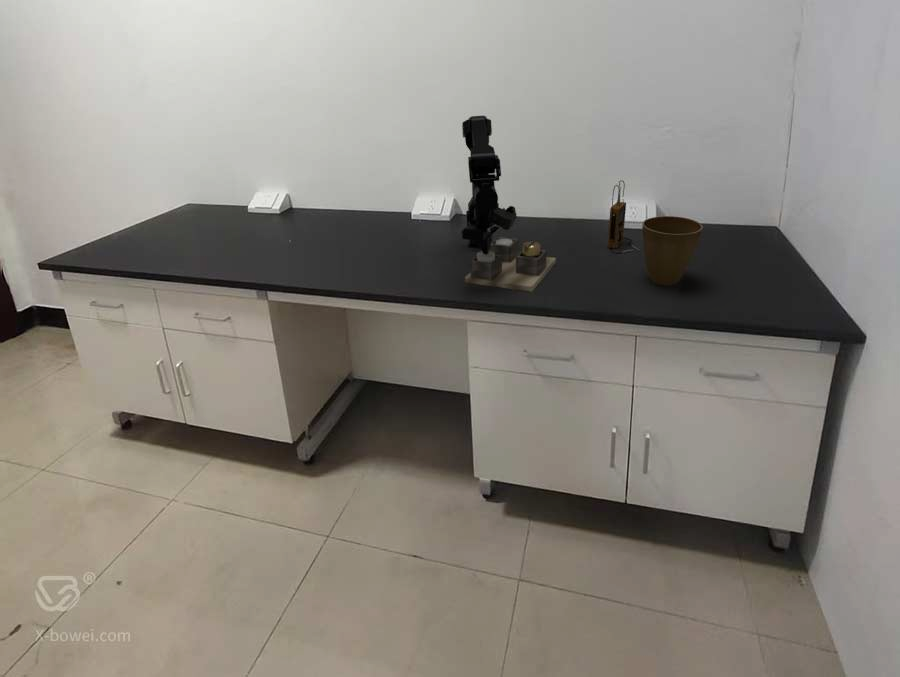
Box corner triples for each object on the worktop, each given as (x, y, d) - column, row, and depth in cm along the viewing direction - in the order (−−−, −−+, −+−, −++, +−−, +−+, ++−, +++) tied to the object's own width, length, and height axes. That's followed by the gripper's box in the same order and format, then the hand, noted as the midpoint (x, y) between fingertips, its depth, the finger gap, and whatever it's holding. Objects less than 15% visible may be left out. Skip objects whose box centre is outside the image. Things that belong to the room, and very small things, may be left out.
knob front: (474, 272, 169) (474, 256, 167) (481, 266, 173) (481, 249, 171) (491, 274, 167) (490, 258, 165) (497, 268, 171) (497, 251, 169)
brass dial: (520, 263, 169) (519, 245, 167) (525, 257, 173) (525, 239, 171) (536, 265, 167) (537, 247, 165) (542, 259, 171) (542, 241, 169)
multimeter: (635, 256, 180) (641, 191, 170) (603, 252, 185) (607, 188, 175) (649, 241, 190) (655, 178, 181) (618, 237, 195) (623, 176, 186)
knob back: (493, 258, 181) (493, 243, 178) (499, 253, 184) (499, 237, 182) (509, 260, 178) (508, 245, 176) (514, 255, 182) (514, 239, 180)
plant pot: (662, 296, 155) (669, 237, 147) (625, 276, 167) (630, 221, 159) (706, 284, 160) (715, 226, 152) (667, 266, 172) (674, 212, 164)
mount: (465, 282, 170) (464, 261, 167) (494, 255, 187) (493, 235, 184) (531, 291, 162) (532, 269, 159) (555, 262, 179) (556, 242, 176)
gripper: (499, 211, 150) (500, 269, 157) (524, 191, 164) (524, 245, 172) (459, 208, 154) (462, 264, 162) (487, 189, 169) (488, 241, 176)
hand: (486, 253), depth 168 cm, fingers closed, pressing on knob front
